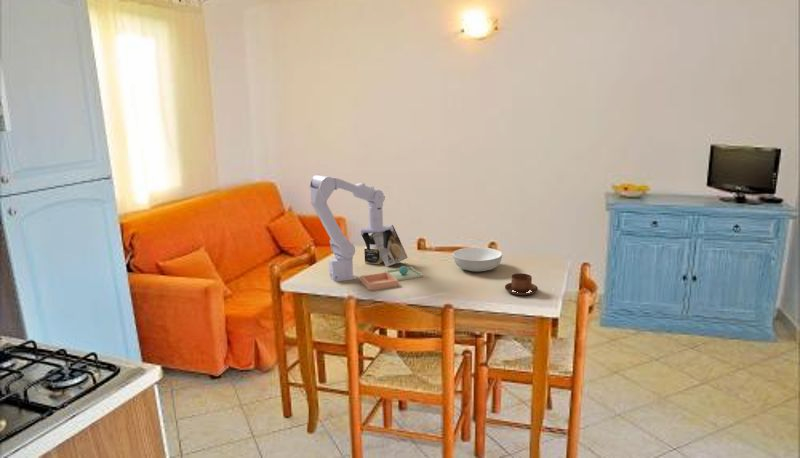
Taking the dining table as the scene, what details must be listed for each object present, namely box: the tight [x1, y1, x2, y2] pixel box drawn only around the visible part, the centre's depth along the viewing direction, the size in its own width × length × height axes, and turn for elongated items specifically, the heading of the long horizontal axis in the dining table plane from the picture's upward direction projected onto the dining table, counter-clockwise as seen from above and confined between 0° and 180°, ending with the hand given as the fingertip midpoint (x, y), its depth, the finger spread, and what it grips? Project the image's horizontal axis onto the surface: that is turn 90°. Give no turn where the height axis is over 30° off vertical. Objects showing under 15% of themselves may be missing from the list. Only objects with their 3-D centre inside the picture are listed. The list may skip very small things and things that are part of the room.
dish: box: [359, 271, 399, 291], centre depth 217 cm, size 12×12×3 cm
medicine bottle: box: [364, 234, 384, 265], centre depth 246 cm, size 7×7×12 cm
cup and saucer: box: [504, 273, 539, 296], centre depth 205 cm, size 12×12×6 cm
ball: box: [399, 265, 408, 275], centre depth 227 cm, size 4×4×4 cm
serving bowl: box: [452, 246, 503, 273], centre depth 234 cm, size 21×21×7 cm
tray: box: [384, 266, 424, 282], centre depth 227 cm, size 12×12×1 cm
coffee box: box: [370, 224, 409, 268], centre depth 241 cm, size 9×6×16 cm
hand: (376, 248), depth 234 cm, fingers open, 7 cm apart
